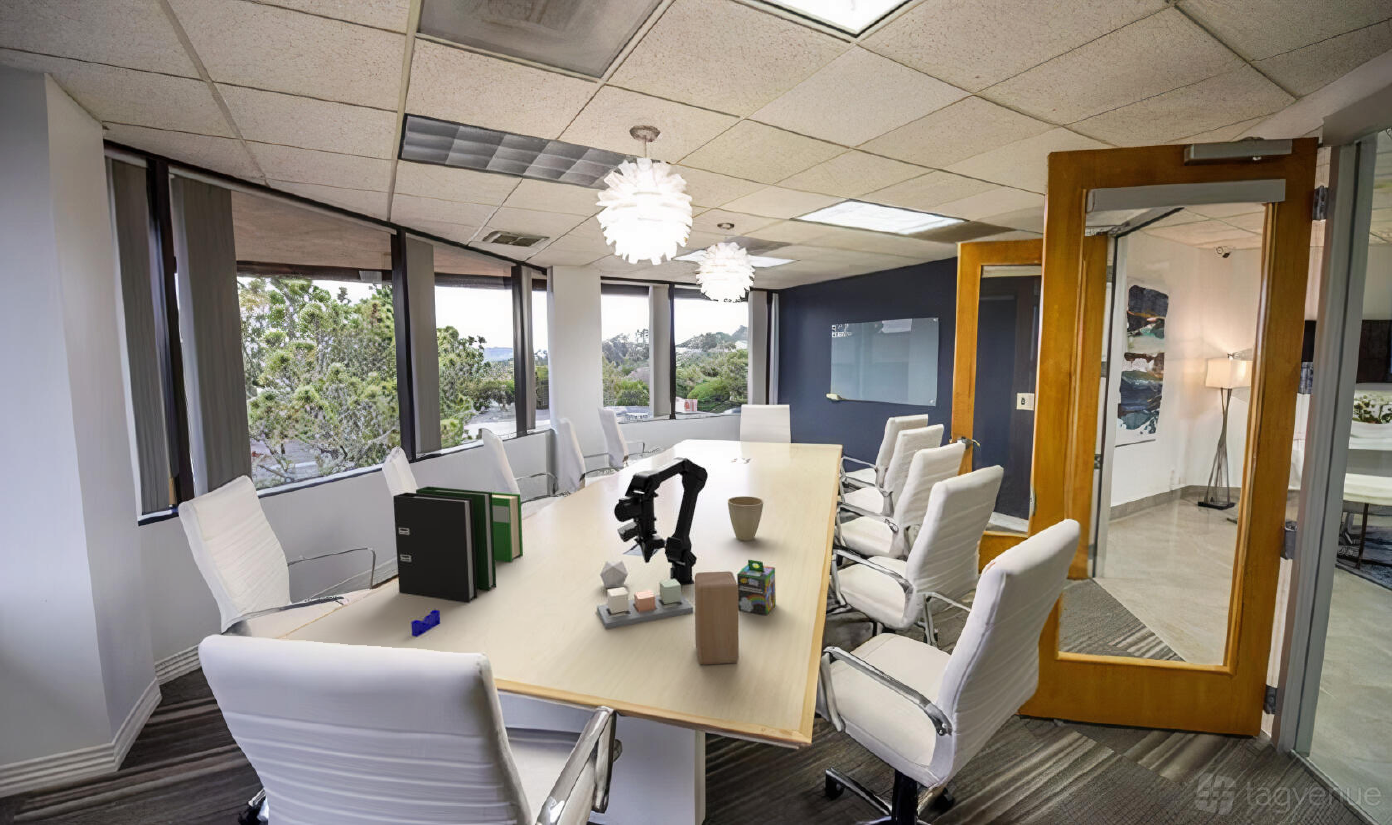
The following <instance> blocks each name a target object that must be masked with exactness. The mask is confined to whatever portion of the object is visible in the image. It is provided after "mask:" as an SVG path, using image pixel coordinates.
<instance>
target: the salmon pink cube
mask: <svg viewBox="0 0 1392 825" xmlns="http://www.w3.org/2000/svg"><path fill="white" fill-rule="evenodd" d="M633 596H634V597H633V599H634V608H635V609H636V611H637V612H643V611H649V610H654V609H655V596H656V595H655V594H654V593H653V591H652V590H651V589H648V590H641V591H635V592H633Z"/></svg>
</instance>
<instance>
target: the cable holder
mask: <svg viewBox="0 0 1392 825" xmlns="http://www.w3.org/2000/svg"><path fill="white" fill-rule="evenodd" d="M410 624H411V636H413V637H415V638H416V637H420V636H421V635H423V634H425V633H426V632H428V631H430V630H431V629H434V628H435V627H436V626H439V625H440V624H441V612H440V610H438V609H433V610H430V611H429V614H428V615H426V616H424V618H423V620H418V619H414V620H413V621H411V622H410Z"/></svg>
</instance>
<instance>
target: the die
mask: <svg viewBox="0 0 1392 825" xmlns="http://www.w3.org/2000/svg"><path fill="white" fill-rule="evenodd" d="M628 575H629V573H628V571H627V569H626V566H625V564H624V562H623V560H606V562H605V564H604V566H603V568H602V570H601V571H600V574H599V576H600V578H601V580H602V582H603V585H604V587H605V589H615V588H621V587H624V583H625V582H626V579H627V577H628Z"/></svg>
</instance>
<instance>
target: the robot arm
mask: <svg viewBox="0 0 1392 825" xmlns="http://www.w3.org/2000/svg"><path fill="white" fill-rule="evenodd" d="M677 475H680V476H681V484H682V487H683V488H682V489H683V494H682V498H681V502H680V507H679V512H678V516H677V519H676V520H677V521H676V524H675V529H674V532H673V534H672V535H671V536H667V538H666V540H664V539H663V538H662V537H661V536H660V535H658V531H657V530H658V529H656V528H655V527H656V525H655V522H657V520H658V519H657V516H656V515H655V498H658V497H660V496H659V493H657V492H655V491H657V490H658V489H659V488H660V486H661V484H662V483H664V482H665V481H666V480H669V479H672V478H673V477H675V476H677ZM708 477H709V476H708V471H707V469H706V468H705V467H703V466H701V465H699V464H697V463H695V462H693V461H692V460H691V459H689V458H687V457H675V458H674V459H673V460H671V461H669V462H667V463H665V464H663V465H660V466H659V467H656V468H654V469H652V470H644V471H638V472H635V473H634V474H633V475H632V477H631V480H630V483H629V485H628V487H627V490H626V492H625V494H624V497H621V498H619V499H618V503H616V505H615V506H614V509H613V513H614V517H615V519H616V520H617V521H618V522H620V523H624V522H628V521H630V520H632V521H631V522H629V523H626V524H625V525H623V526H620V527H619V528H618V529H617V533H618V535H619V537H620V540H622V542H623V543H628V542H629V541H630V540H632V539H633V540H634V542H635V543H636V544H637V545H638V546H639V547H640V550H641V554H642V557H643V562H645V564H648V563H650V560H651V559H652V557H653V554H654V552H655V550H659V549H664V555H665V556H666V560H667V563H669V564H671V567H670V569H669V572H670V573H669V574H670V576H669V578H670V579H676V580H677V581H678V582H679V584H680V585H681V586H683V585H688V584H695V579H693V567H694V566H695V565H696V563H697V559H698V557H697V556H696V555H695V553H693V552H692V546H693V544H692V541H691V538H690V533H691V529H692V524H693V521H694V520H693V519H694V515H695V510H696V507H697V501H698V497H699V494H700V492H702V491H703V489H704V488H705V486H706V483H707V479H708ZM670 579H669V580H670Z"/></svg>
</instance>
